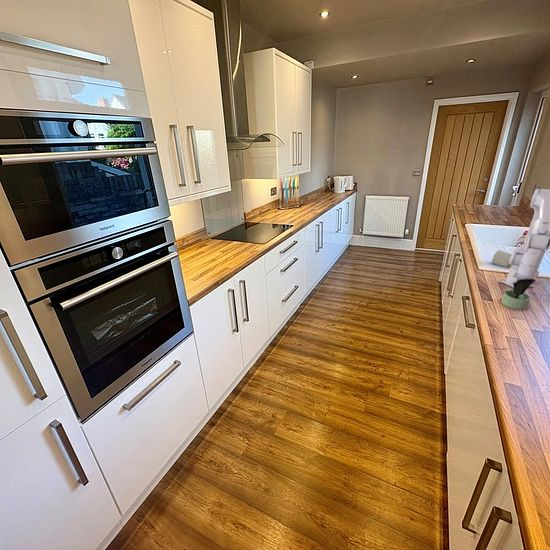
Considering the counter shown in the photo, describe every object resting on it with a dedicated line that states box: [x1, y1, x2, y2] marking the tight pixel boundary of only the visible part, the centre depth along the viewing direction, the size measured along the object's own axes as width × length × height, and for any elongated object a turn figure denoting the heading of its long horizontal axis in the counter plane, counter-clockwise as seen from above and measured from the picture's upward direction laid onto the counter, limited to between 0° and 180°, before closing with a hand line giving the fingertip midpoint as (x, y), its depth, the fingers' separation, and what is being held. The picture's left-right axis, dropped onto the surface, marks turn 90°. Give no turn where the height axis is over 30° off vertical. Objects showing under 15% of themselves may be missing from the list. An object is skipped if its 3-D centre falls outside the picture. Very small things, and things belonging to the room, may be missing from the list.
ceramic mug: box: [491, 249, 512, 268], centre depth 156 cm, size 11×8×8 cm
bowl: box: [500, 289, 532, 311], centre depth 121 cm, size 9×9×4 cm
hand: (517, 294), depth 120 cm, fingers closed
